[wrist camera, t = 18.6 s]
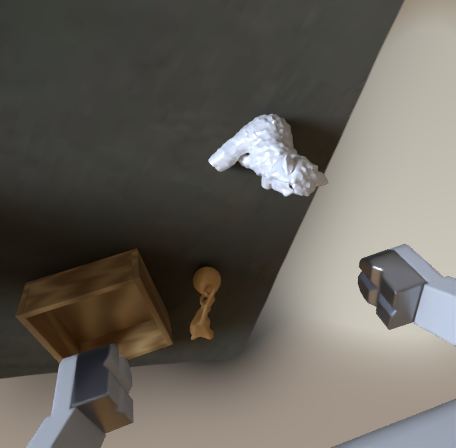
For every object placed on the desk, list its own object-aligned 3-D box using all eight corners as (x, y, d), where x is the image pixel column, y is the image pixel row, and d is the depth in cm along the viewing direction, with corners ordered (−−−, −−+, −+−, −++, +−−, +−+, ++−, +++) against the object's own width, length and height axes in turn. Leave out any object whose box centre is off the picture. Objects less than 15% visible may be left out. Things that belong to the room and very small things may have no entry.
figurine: (208, 292, 52) (227, 359, 43) (170, 289, 50) (182, 360, 41) (225, 250, 48) (251, 315, 39) (185, 246, 46) (203, 314, 37)
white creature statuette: (204, 162, 40) (231, 218, 30) (237, 92, 36) (280, 131, 26) (268, 185, 44) (309, 241, 34) (304, 125, 40) (361, 169, 31)
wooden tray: (77, 345, 52) (73, 378, 47) (25, 282, 43) (15, 316, 38) (168, 314, 53) (173, 344, 49) (137, 247, 44) (139, 276, 40)
